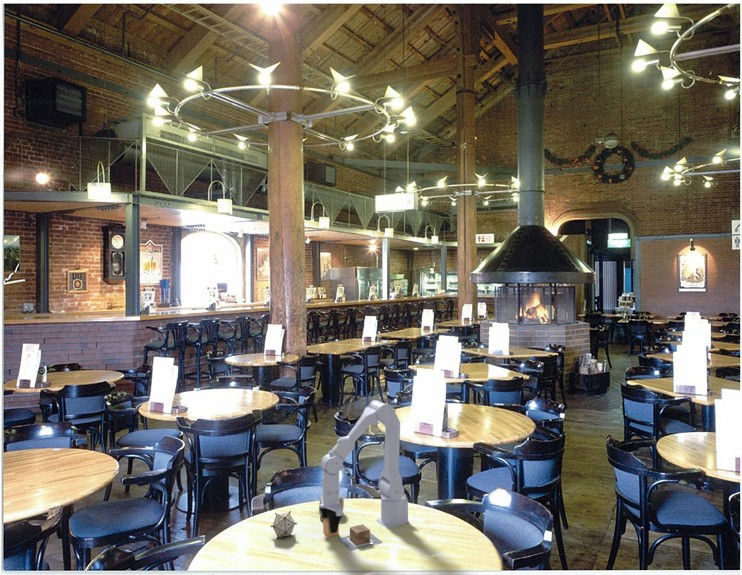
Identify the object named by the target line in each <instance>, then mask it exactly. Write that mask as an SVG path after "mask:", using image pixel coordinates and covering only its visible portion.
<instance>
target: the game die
mask: <svg viewBox="0 0 742 575" xmlns="http://www.w3.org/2000/svg"><path fill="white" fill-rule="evenodd" d="M291 511H292V510H289V512H287V513H279V514H278V512H275V513H274V514H275V518H274V521H273V523H272V525H270V526H269V527H270V528H272V530H274V533H275V535H276V536H277V537H276V540H278V539H279V538H280V537H282V538H283V537H288V536H290V538H291V537H293V535H292V534H293V530H294V527H295V525H297V524H298V522H296V521H294V518H293V517H292V515H291Z"/></svg>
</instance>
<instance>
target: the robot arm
mask: <svg viewBox="0 0 742 575" xmlns="http://www.w3.org/2000/svg"><path fill="white" fill-rule="evenodd" d="M380 423H381V424H382V426H384V427H385V428H384V452H383V454H384V455H383V457H384V459H383V470H381V472H380V478H379V480H378V484H377V487H378V490H379V492H380V518H376V522H378V523H379V524H381V525H382V526H384V528H386V529H390V528H394V527H398V526H401V525H406V524H410V521H409V504H408V499H407V498H406V496H405V495H404V493H405V487H404V485H403V478H402V477H401V476H402V475H401V474H400V471H399V468H400V443H401V442H400V440H401V439H400V438H401V422H400V419H399V416H398V415H397V411H396V409H395V408H394V407H392V406H391V405H389V404H387V403H385V402H382V401H381V400H378V399H377V400H376V399H375V400H372V401H370V402H369V404H368V406H366V407H365V408H364V409H363V412H362V414H361V416H360V418H359V419H358V420H357V421H356V422H355V424H354V425H353V427H352V428H351V430H349V432H348V434H347V435H346V436H342V437H340V438H338V439H337V440H336V442H337V443H335V445H334V446H333V448H331V450H329V451H328V453H327V454H325V455H323V457H322V458H321V461H320V462H319V464H320V467H321V468H322V494H323V496H322V495H321V496H322V497H321V496H319V504H320V503H322V504H320V507H319V506H318V510H319V509H320V511H321V513H322V516H321V517H322V519H323V518H328V520H329V525H330V532H331V533H335V532H337V529H338V525H339V526H340V521H341V519H342V517H343V516H344V509H343V510H342V508H341V505H340V502H339V496H340V471H342V468H343V464H344V462H345V461H346V459H347V457H348V456H349V455H350V454H351V453H352V451H353V450H354V449H355V442H356V441H357V440H358V439H359V438H360V437H361V436H362V435H363V434H364V432H365V431H366V430H368V428H369V426H374V425H378V424H380Z"/></svg>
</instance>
